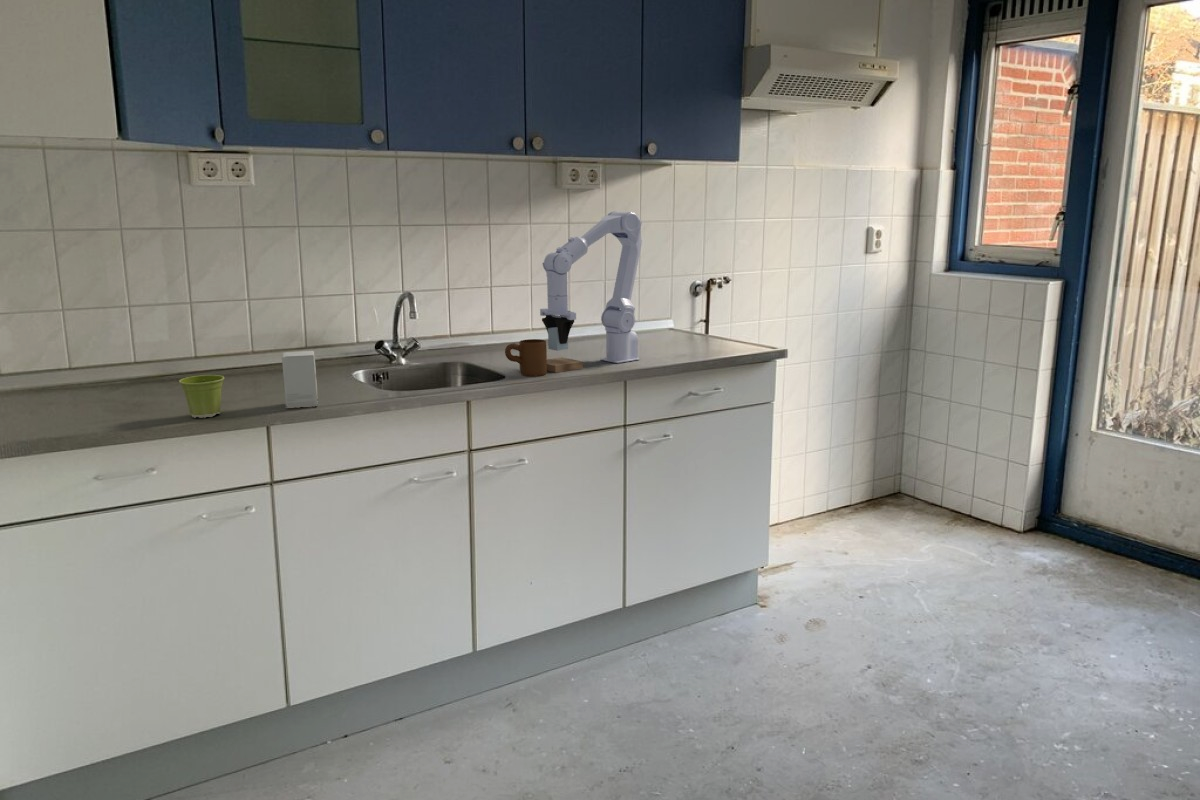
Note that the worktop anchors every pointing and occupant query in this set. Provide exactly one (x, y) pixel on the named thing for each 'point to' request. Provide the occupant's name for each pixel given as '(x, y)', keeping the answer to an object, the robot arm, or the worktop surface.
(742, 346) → the worktop surface
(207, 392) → the plant pot
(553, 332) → the block
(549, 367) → the base
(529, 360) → the mug
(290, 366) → the supplement box
